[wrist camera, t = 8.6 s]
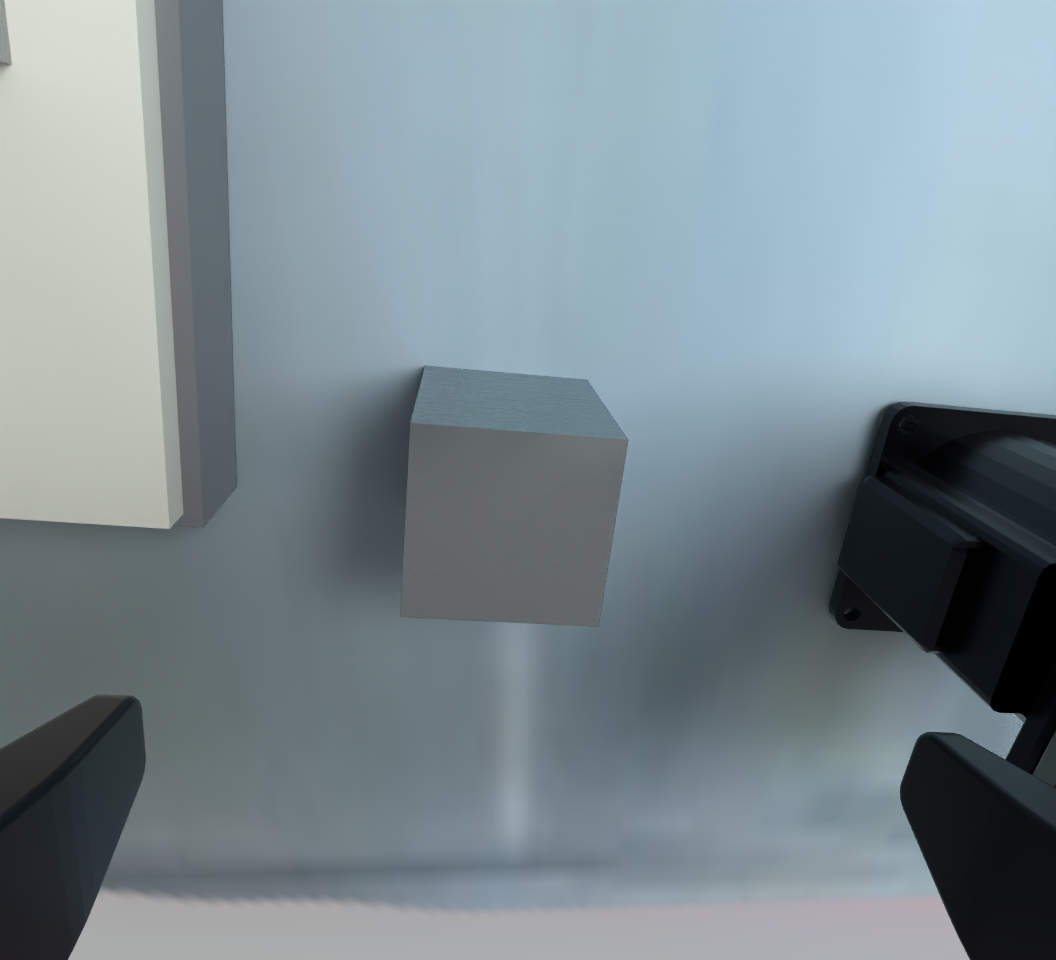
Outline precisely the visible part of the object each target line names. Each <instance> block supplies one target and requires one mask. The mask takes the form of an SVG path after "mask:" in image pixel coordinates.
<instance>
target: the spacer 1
mask: <svg viewBox="0 0 1056 960" xmlns="http://www.w3.org/2000/svg"><path fill="white" fill-rule="evenodd" d="M0 63H3V64H11V65H12V60H11V52H10V44H9V35H8V27H7V19H6V10H5V2H4V0H0Z"/></svg>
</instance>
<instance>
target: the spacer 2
mask: <svg viewBox="0 0 1056 960" xmlns="http://www.w3.org/2000/svg"><path fill="white" fill-rule="evenodd" d="M627 445H628V439H627V437H626V436H625V434H624V433H623V431H622V430H621V428H620V427H619V426H618V424H617V423H616V421H615V420H614V418H613V417H612V415H611V414H610V412H609V411H608V409H607V408H606V407H605V405H604V404H603V402H602V401H601V399H600V398H599V396H598V395H597V393H596V392H595V390H594V389H593V388H592V386H591V385H590V383H589V382H588V380H584V379H572V378H561V377H549V376H538V375H526V374H515V373H503V372H492V371H480V370H469V369H457V368H446V367H434V366H425V368H424V372H423V376H422V379H421V383H420V387H419V391H418V395H417V399H416V402H415V406H414V410H413V414H412V418H411V422H410V436H409V456H408V475H407V495H406V515H405V534H404V554H403V574H402V593H401V613H400V617H414V618H434V619H454V620H474V621H495V622H515V623H535V624H555V625H575V626H595V627H599V621H600V614H601V608H602V602H603V596H604V589H605V583H606V577H607V570H608V564H609V558H610V552H611V545H612V539H613V533H614V526H615V520H616V514H617V508H618V501H619V495H620V489H621V482H622V476H623V470H624V464H625V457H626V451H627Z"/></svg>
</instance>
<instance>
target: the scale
mask: <svg viewBox="0 0 1056 960" xmlns="http://www.w3.org/2000/svg"><path fill="white" fill-rule="evenodd" d="M4 2H5V10H6V19H7V27H8V35H9V44H10V52H11V60H12V65H11V64H3V63H0V518H6V519H22V520H37V521H53V522H68V523H84V524H99V525H115V526H131V527H146V528H162V529H170V528H171V527H172V526H186V527H201V528H203V527H204V526H205V525H206V524H207V522H208V521H209V520H210V519H211V517H212V516H213V515H214V514H215V513H216V511H217V510H218V509H219V508H220V506H221V505H222V504H223V503H224V502H225V500H226V499H227V498H228V497H229V495H230V494H231V493H232V492H233V491H234V489H235V488H236V487H237V481H236V447H235V413H234V378H233V344H232V310H231V276H230V242H229V208H228V174H227V139H226V105H225V71H224V37H223V3H222V0H4Z"/></svg>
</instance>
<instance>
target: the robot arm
mask: <svg viewBox="0 0 1056 960" xmlns="http://www.w3.org/2000/svg"><path fill="white" fill-rule="evenodd" d="M908 415H909V416H910V422H909V423H908V425H907V426H906V427H905V428H903V429H901V430H900V429H899V424H900V422H901V420H902V419H903V418H904V417H906V416H908ZM838 566H839V567H840V569H839V572H838V576H837V579H836V583H835V586H834V590H833V593H832V597H831V600H830V604H829V613H830V615H831V617H832V618H833V619H834V620H835V621H836V623H837V624H838V625H840V626H841V627H843V628H847V629H859V630H878V631H896V632H904V633H905V634H906V635H907V636H908V637H909V638H910V639H912V640H913V641H914V642H915V643H916V644H917V645H918V646H919V647H920V648H921V649H922V650H923V651H925V652H927V653H934V654H935V655H936V656H937V657H938V658H939V659H940V660H941V661H942V662H943V663H944V664H945V665H946V666H947V667H948V668H949V669H950V670H952V671H953V672H954V673H955V674H956V675H957V676H958V677H959V678H960V679H961V680H962V681H963V682H964V683H965V684H966V685H967V686H968V687H969V688H970V689H971V690H972V691H973V692H975V693H976V694H977V695H978V696H979V697H980V698H981V699H982V700H983V701H984V702H985V703H986V704H987V705H988V706H989V707H990V708H991V709H992V710H993V711H996V712H999V713H1014V714H1015V715H1016V716H1017V717H1019V718H1020V719H1021V720H1022V721H1023V722H1024V724H1023V726H1022V728H1021V730H1020V731H1019V733H1018V735H1017V737H1016V739H1015V741H1014V743H1013V745H1012V747H1011V749H1010V751H1009V753H1008V755H1007V757H1006V759H1003V758H1001V757H999V756H998V755H996V754H994V753H992V752H990V751H989V750H987V749H985V748H983V747H982V746H980V745H978V744H976V743H974V742H973V741H971V740H969V739H967V738H965V737H964V736H962V735H959V734H955V733H942V732H927V733H923V734H922V735H921V736H920V737H919V738H918V739H917V741H916V743H915V746H914V749H913V751H912V754H911V757H910V760H909V762H908V765H907V768H906V771H905V774H904V776H903V779H902V782H901V786H900V798H901V803H902V807H903V810H904V812H905V814H906V817H907V819H908V821H909V824H910V826H911V828H912V831H913V833H914V835H915V838H916V840H917V842H918V845H919V847H920V849H921V852H922V854H923V856H924V859H925V861H926V864H927V866H928V868H929V871H930V873H931V875H932V878H933V880H934V882H935V885H936V887H937V889H938V892H939V894H940V896H941V899H942V901H943V903H944V906H945V908H946V910H947V913H948V915H949V917H950V919H951V922H952V924H953V926H954V928H955V930H956V932H957V935H958V937H959V939H960V941H961V943H962V945H963V947H964V949H965V951H966V952H967V955H968V957H969V958H970V960H1056V416H1054V415H1043V414H1033V413H1022V412H1011V411H1000V410H990V409H979V408H968V407H957V406H946V405H936V404H925V403H914V402H899V403H896V404H894V405H892V406H891V407H890V408H889V409H888V410H887V411H886V412H885V414H884V416H883V418H882V421H881V425H880V428H879V432H878V435H877V439H876V442H875V446H874V449H873V453H872V456H871V460H870V463H869V467H868V470H867V474H866V477H865V479H864V480H863V482H862V483H861V484H860V486H859V490H858V494H857V497H856V501H855V504H854V508H853V511H852V515H851V518H850V522H849V525H848V529H847V532H846V536H845V539H844V543H843V546H842V550H841V554H840V557H839V561H838ZM850 606H854V608H853V610H852V611H850V612H849V613H846V614H844V612H845V610H846V609H847V608H848V607H850ZM145 762H146V755H145V743H144V731H143V719H142V709H141V705H140V702H139V700H138V699H136V698H135V697H134V696H122V695H97V696H94V697H92V698H90V699H88V700H86V701H84V702H83V703H81V704H79V705H77V706H75V707H74V708H72V709H70V710H68V711H67V712H65V713H63V714H61V715H59V716H58V717H56V718H54V719H52V720H51V721H49V722H47V723H45V724H43V725H42V726H40V727H38V728H36V729H35V730H33V731H31V732H29V733H28V734H26V735H24V736H22V737H20V738H19V739H17V740H15V741H13V742H12V743H10V744H8V745H6V746H4V747H3V748H1V749H0V960H68V958H69V956H70V954H71V952H72V950H73V949H74V946H75V944H76V942H77V940H78V938H79V936H80V934H81V932H82V930H83V928H84V926H85V923H86V921H87V919H88V916H89V914H90V912H91V909H92V907H93V904H94V902H95V900H96V897H97V895H98V892H99V889H100V887H101V884H102V882H103V879H104V877H105V874H106V871H107V869H108V866H109V864H110V861H111V859H112V856H113V853H114V851H115V848H116V846H117V843H118V841H119V838H120V835H121V833H122V830H123V828H124V825H125V823H126V820H127V817H128V815H129V812H130V810H131V807H132V805H133V802H134V799H135V797H136V794H137V792H138V789H139V787H140V784H141V781H142V778H143V774H144V770H145Z"/></svg>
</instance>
